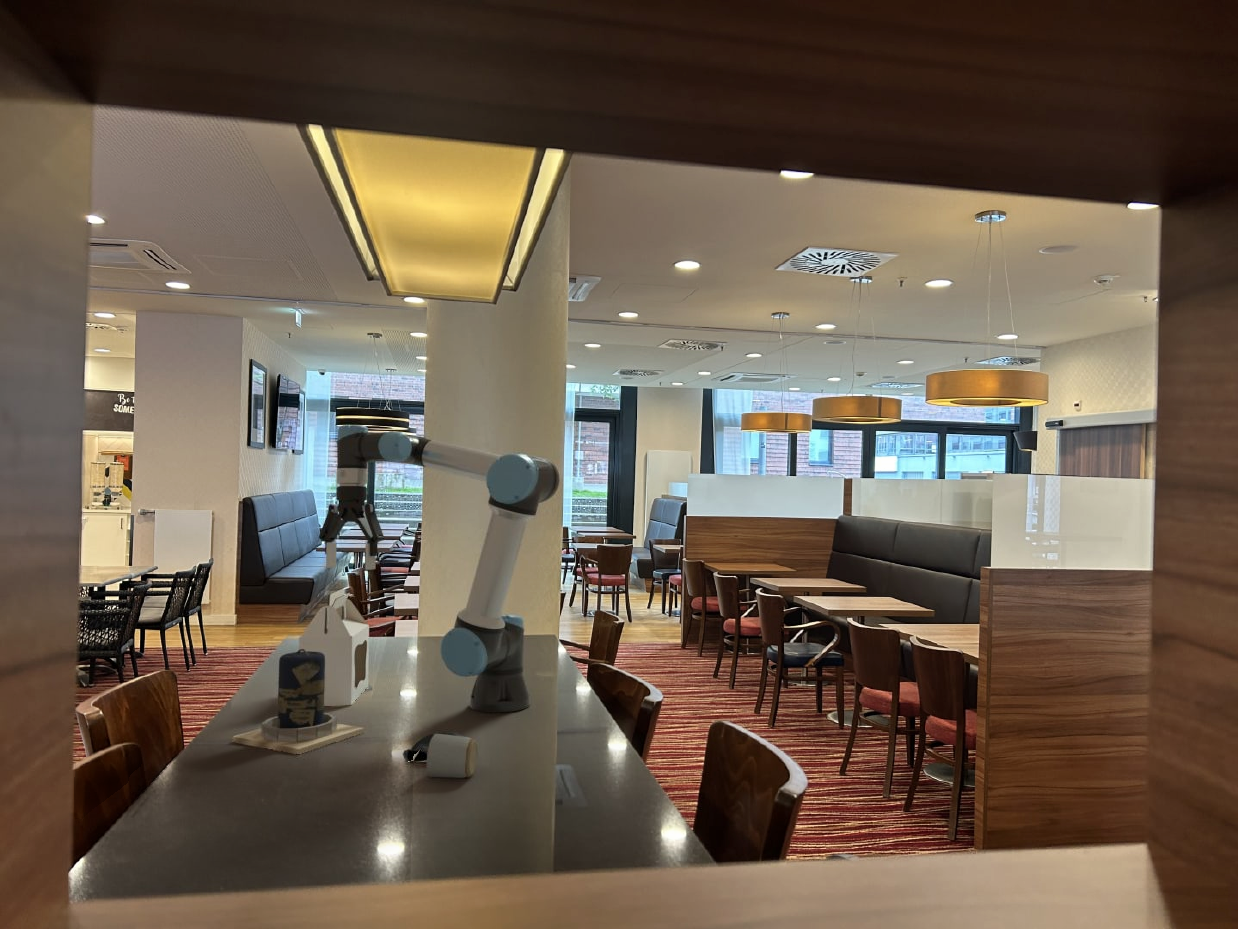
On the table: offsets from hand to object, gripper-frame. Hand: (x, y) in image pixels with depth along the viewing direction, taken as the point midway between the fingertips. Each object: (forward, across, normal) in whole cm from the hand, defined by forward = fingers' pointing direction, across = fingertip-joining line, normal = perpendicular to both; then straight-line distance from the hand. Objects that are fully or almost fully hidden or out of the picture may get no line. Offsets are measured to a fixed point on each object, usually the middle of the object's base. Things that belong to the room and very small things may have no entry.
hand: (350, 568), depth 210 cm
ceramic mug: (+35, +58, -30) cm, 74 cm away
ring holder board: (+35, +12, -26) cm, 45 cm away
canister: (+34, +12, -26) cm, 44 cm away
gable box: (+35, -11, +6) cm, 37 cm away
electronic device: (+35, +46, -21) cm, 61 cm away
